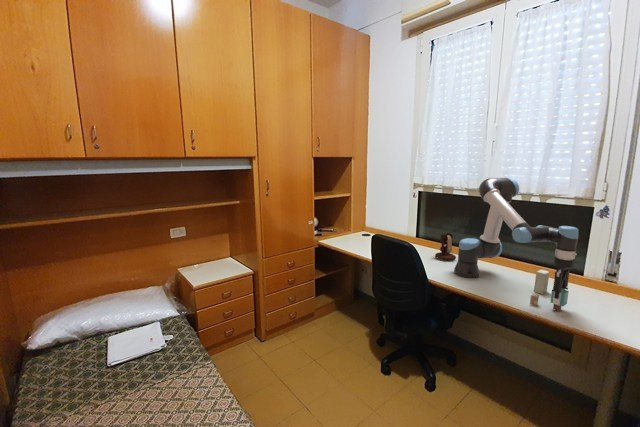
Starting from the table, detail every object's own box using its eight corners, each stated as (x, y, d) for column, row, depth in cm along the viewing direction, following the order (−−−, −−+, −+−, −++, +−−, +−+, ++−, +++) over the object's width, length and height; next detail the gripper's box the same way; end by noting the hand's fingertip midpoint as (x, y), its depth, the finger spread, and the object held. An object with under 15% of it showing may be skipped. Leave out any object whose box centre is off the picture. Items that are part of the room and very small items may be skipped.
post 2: (552, 309, 147) (554, 296, 146) (554, 307, 148) (556, 295, 147) (559, 311, 145) (561, 298, 144) (561, 309, 146) (563, 296, 145)
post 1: (529, 304, 152) (531, 295, 152) (531, 302, 154) (533, 293, 153) (535, 306, 150) (536, 296, 150) (537, 304, 152) (538, 295, 151)
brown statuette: (449, 263, 215) (451, 237, 211) (431, 258, 226) (432, 233, 223) (459, 259, 223) (461, 234, 220) (441, 254, 235) (443, 230, 232)
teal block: (550, 302, 146) (551, 290, 145) (554, 299, 149) (555, 287, 148) (563, 306, 142) (565, 293, 141) (566, 303, 145) (568, 291, 144)
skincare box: (538, 288, 171) (540, 269, 169) (547, 291, 167) (550, 271, 165) (533, 291, 167) (536, 271, 165) (542, 294, 164) (545, 273, 162)
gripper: (567, 263, 134) (561, 310, 138) (580, 256, 144) (573, 300, 148) (548, 259, 140) (542, 304, 144) (561, 252, 150) (555, 295, 154)
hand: (558, 302), depth 146 cm, fingers closed on teal block, 5 cm apart
